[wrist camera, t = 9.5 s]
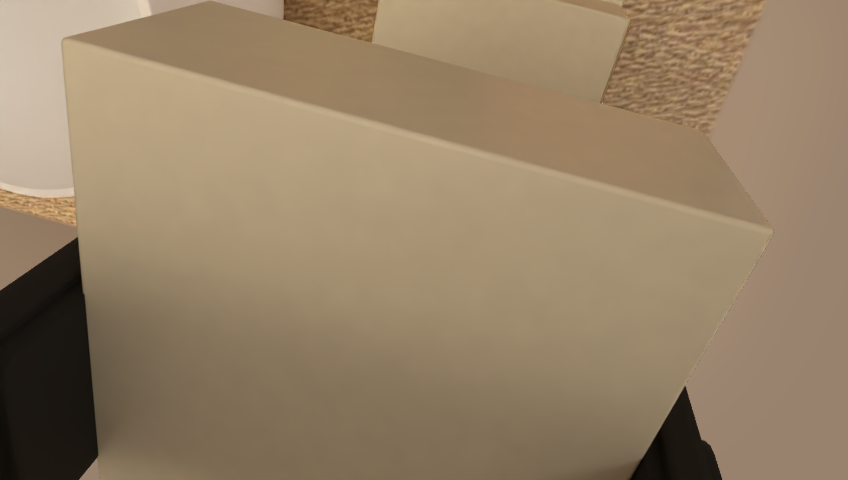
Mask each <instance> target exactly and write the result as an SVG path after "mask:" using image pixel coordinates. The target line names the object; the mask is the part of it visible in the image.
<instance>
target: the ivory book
mask: <svg viewBox="0 0 848 480" xmlns="http://www.w3.org/2000/svg"><path fill="white" fill-rule="evenodd" d="M61 49H62V60H63V72H64V83H65V94H66V106H67V117H68V129H69V140H70V151H71V163H72V174H73V186H74V197H75V208H76V220H77V231H78V243H79V254H80V265H81V277H82V288H83V293H84V294H85V304H86V316H87V327H88V339H89V351H90V362H91V374H92V385H93V397H94V409H95V420H96V432H97V444H98V455H99V456H98V457H97V459H98V471H99V480H630V479H631V477H632V475H633V474H634V472H635V470H636V469H637V467H638V465H639V464H640V462H641V460H642V458H643V457H644V455H645V453H646V452H647V450H648V448H649V446H650V445H651V443H652V441H653V440H654V438H655V436H656V435H657V433H658V431H659V429H660V428H661V426H662V424H663V423H664V421H665V419H666V417H667V416H668V414H669V412H670V411H671V409H672V407H673V406H674V404H675V402H676V400H677V399H678V397H679V395H680V394H681V392H682V390H683V388H684V387H685V385H686V383H687V382H688V380H689V378H690V377H691V375H692V373H693V371H694V370H695V368H696V366H697V365H698V363H699V361H700V359H701V358H702V356H703V354H704V353H705V351H706V349H707V348H708V346H709V344H710V342H711V341H712V339H713V337H714V335H715V334H716V332H717V330H718V328H719V327H720V325H721V324H722V322H723V320H724V319H725V317H726V315H727V313H728V312H729V310H730V308H731V307H732V305H733V303H734V301H735V300H736V298H737V296H738V295H739V293H740V291H741V289H742V288H743V286H744V284H745V283H746V281H747V279H748V277H749V276H750V274H751V272H752V271H753V269H754V267H755V266H756V264H757V262H758V260H759V259H760V257H761V255H762V254H763V252H764V250H765V249H766V247H767V245H768V243H769V242H770V240H771V238H772V237H773V228H772V227H771V226H770V224H769V223H768V221H767V220H766V219H765V217H764V216H763V214H762V213H761V212H760V210H759V209H758V207H757V206H756V205H755V203H754V202H753V201H752V199H751V198H750V196H749V195H748V194H747V192H746V191H745V190H744V188H743V187H742V185H741V184H740V183H739V181H738V180H737V178H736V177H735V176H734V174H733V173H732V172H731V170H730V169H729V167H728V166H727V164H726V163H725V162H724V160H723V159H722V158H721V156H720V155H719V153H718V152H717V151H716V149H715V148H714V146H713V145H712V144H711V142H710V141H709V139H708V138H707V137H706V135H705V134H704V132H703V131H701V130H700V129H696V128H692V127H688V126H684V125H681V124H677V123H673V122H669V121H666V120H662V119H658V118H654V117H650V116H647V115H643V114H639V113H635V112H631V111H628V110H624V109H620V108H616V107H612V106H609V105H605V104H601V103H597V102H594V101H590V100H586V99H582V98H578V97H575V96H571V95H567V94H563V93H559V92H556V91H552V90H548V89H544V88H540V87H537V86H533V85H529V84H525V83H522V82H518V81H514V80H510V79H506V78H503V77H499V76H495V75H491V74H487V73H484V72H480V71H476V70H472V69H468V68H465V67H461V66H457V65H453V64H449V63H446V62H442V61H438V60H434V59H431V58H427V57H423V56H419V55H415V54H412V53H408V52H404V51H400V50H396V49H393V48H389V47H385V46H381V45H377V44H374V43H370V42H366V41H362V40H359V39H355V38H351V37H347V36H343V35H340V34H336V33H332V32H328V31H324V30H321V29H317V28H313V27H309V26H305V25H302V24H298V23H294V22H290V21H287V20H283V19H279V18H275V17H271V16H268V15H264V14H260V13H256V12H252V11H249V10H245V9H241V8H237V7H233V6H230V5H226V4H222V3H218V2H215V1H206V2H202V3H198V4H194V5H190V6H186V7H182V8H178V9H174V10H171V11H167V12H163V13H159V14H155V15H151V16H147V17H143V18H139V19H135V20H131V21H127V22H124V23H120V24H116V25H112V26H108V27H104V28H100V29H96V30H92V31H88V32H84V33H80V34H76V35H73V36H69V37H65V38H63V39H62V42H61Z"/></svg>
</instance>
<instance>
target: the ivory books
mask: <svg viewBox="0 0 848 480" xmlns="http://www.w3.org/2000/svg"><path fill="white" fill-rule="evenodd" d="M622 5H623V0H378V5H377V11H376V17H375V23H374V29H373V35H372V41H371V43H374V44H377V45H381V46H385V47H389V48H393V49H396V50H400V51H404V52H408V53H412V54H415V55H419V56H423V57H427V58H431V59H434V60H438V61H442V62H446V63H449V64H453V65H457V66H461V67H465V68H468V69H472V70H476V71H480V72H484V73H487V74H491V75H495V76H499V77H503V78H506V79H510V80H514V81H518V82H522V83H525V84H529V85H533V86H537V87H540V88H544V89H548V90H552V91H556V92H559V93H563V94H567V95H571V96H575V97H578V98H582V99H586V100H590V101H594V102H597V103H601V104H602V102H603V99H604V97H605V94H606V91H607V89H608V86H609V83H610V81H611V78H612V75H613V73H614V70H615V67H616V64H617V62H618V59H619V56H620V54H621V51H622V48H623V46H624V43H625V40H626V38H627V35H628V32H629V29H630V27H631V22H630V20H629V18H628V17H627V16H626V14H625V13H624V12H623V10H622V9H621V8H622Z"/></svg>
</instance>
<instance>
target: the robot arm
mask: <svg viewBox="0 0 848 480" xmlns="http://www.w3.org/2000/svg"><path fill="white" fill-rule="evenodd" d="M98 456H99V455H98V444H97V432H96V420H95V409H94V397H93V385H92V374H91V362H90V351H89V339H88V327H87V316H86V304H85V294H84V293H83V288H82V277H81V265H80V254H79V243H78V237H77V238H76V239H74V240H73V241H71V242H70V243H69V244H67V245H66V246H64V247H63V248H61V249H60V250H58V251H57V252H55V253H54V254H53V255H51V256H50V257H48V258H47V259H45V260H44V261H42V262H41V263H40V264H38V265H37V266H35V267H34V268H32V269H31V270H29V271H28V272H27V273H25V274H24V275H22V276H21V277H19V278H18V279H17V280H15V281H14V282H12V283H11V284H9V285H8V286H6V287H5V288H3V289H2V290H1V291H0V480H79V479H80V478H81V476H82V475H83V474H84V473H85V472H86V470H87V469H88V468H89V467H90V466H91V464H92V463H93V462H94V461H95V459H96V458H97V457H98ZM630 480H722V477H721V474H720V471H719V468H718V464H717V461H716V458H715V455H714V453H713V451H712V448H711V446H710V445H709V444H708V443H707V442H705V441H703V440H701V437H700V434H699V430H698V427H697V424H696V420H695V417H694V413H693V410H692V407H691V403H690V400H689V397H688V393H687V390H686V387H684V388H683V390H682V392H681V394H680V395H679V397H678V399H677V400H676V402H675V404H674V406H673V407H672V409H671V411H670V412H669V414H668V416H667V417H666V419H665V421H664V423H663V424H662V426H661V428H660V429H659V431H658V433H657V435H656V436H655V438H654V440H653V441H652V443H651V445H650V446H649V448H648V450H647V452H646V453H645V455H644V457H643V458H642V460H641V462H640V464H639V465H638V467H637V469H636V470H635V472H634V474H633V475H632V477H631V479H630Z"/></svg>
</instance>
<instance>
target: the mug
mask: <svg viewBox="0 0 848 480" xmlns="http://www.w3.org/2000/svg"><path fill="white" fill-rule="evenodd" d="M206 1H215V2H218V3H222V4H226V5H230V6H233V7H237V8H241V9H245V10H249V11H252V12H256V13H260V14H264V15H268V16H271V17H275V18H279V19H283V18H284V0H0V188H1V189H4V190H7V191H10V192H14V193H18V194H23V195H28V196H34V197H44V198H62V197H71V196H74V186H73V174H72V163H71V151H70V140H69V129H68V117H67V106H66V94H65V83H64V72H63V60H62V49H61V42H62V39H63V38H65V37H69V36H73V35H76V34H80V33H84V32H88V31H92V30H96V29H100V28H104V27H108V26H112V25H116V24H120V23H124V22H127V21H131V20H135V19H139V18H143V17H147V16H151V15H155V14H159V13H163V12H167V11H171V10H174V9H178V8H182V7H186V6H190V5H194V4H198V3H202V2H206Z"/></svg>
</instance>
